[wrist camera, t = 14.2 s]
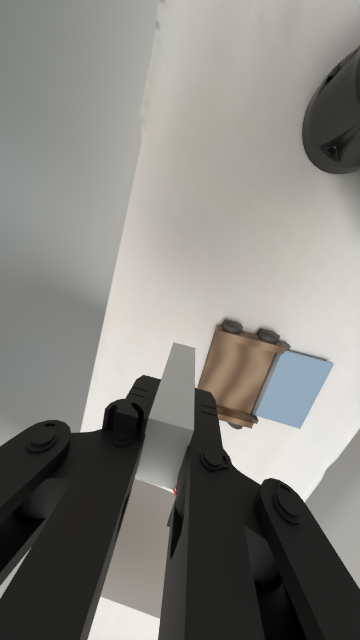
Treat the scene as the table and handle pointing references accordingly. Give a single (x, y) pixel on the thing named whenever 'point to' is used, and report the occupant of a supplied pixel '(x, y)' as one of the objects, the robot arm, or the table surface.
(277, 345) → the trailer bed
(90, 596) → the robot arm
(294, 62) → the table surface
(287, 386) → the panel
